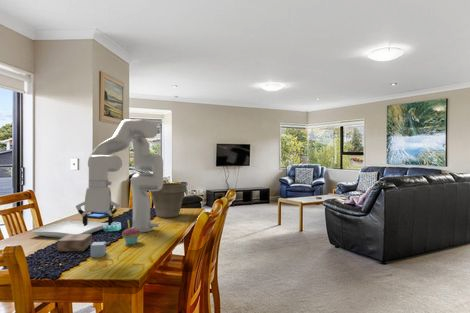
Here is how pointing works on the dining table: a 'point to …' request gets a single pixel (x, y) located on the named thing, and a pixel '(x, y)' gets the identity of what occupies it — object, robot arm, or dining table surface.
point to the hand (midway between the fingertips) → (97, 225)
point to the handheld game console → (98, 214)
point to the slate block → (98, 249)
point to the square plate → (68, 229)
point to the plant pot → (168, 199)
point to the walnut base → (74, 242)
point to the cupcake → (131, 234)
